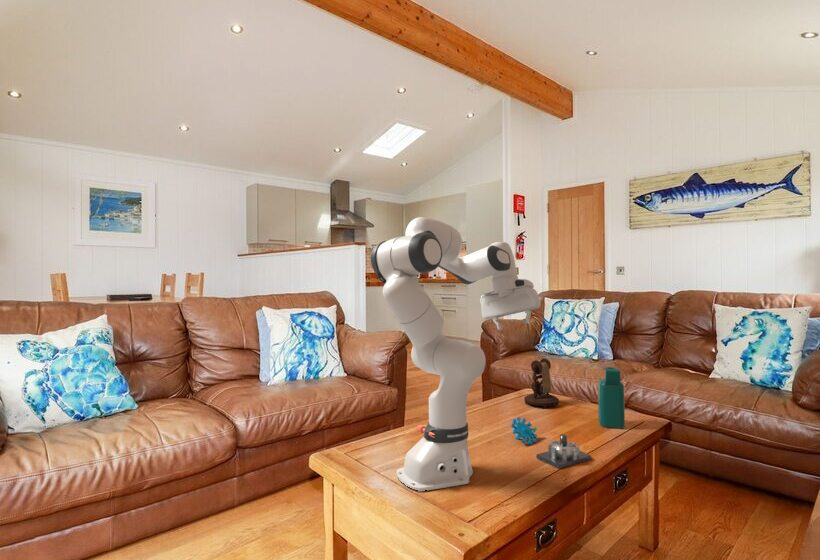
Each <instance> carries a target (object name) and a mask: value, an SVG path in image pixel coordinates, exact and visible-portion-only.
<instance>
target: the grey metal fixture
mask: <svg viewBox="0 0 820 560" xmlns="http://www.w3.org/2000/svg"><path fill="white" fill-rule="evenodd" d="M567 436H568V435H567V434H560V436H559V440H554V439H553V440H551V441H550V442H551V443H550V442H548V445H547V447H548V451H543V452H541V453H540V452H539V453H537V454H536V459H537V460H539V461H542V462H544V463H546V464H548V465H549V466H551V467H553V468H556V469H558V470H560V469H563V468H567V467H570V466H573V465H577V464H579V463H580V464H581V463H583V462H586V461H590V460H592V455H591V454H589V453H586V452H584V451H581V450H580V446H579V445H576V442H573V441H570V442H569V441H568V437H567Z"/></svg>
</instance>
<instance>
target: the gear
mask: <svg viewBox="0 0 820 560" xmlns="http://www.w3.org/2000/svg"><path fill="white" fill-rule="evenodd" d="M511 422H512V423H511V424H510V427H511V428H513V429H512V434H514V435H515V434H516V435H515V436H514V438H515V439H516V440H517V441H519V440H520V439H521V438H522V440H521V443H522V444H523V445H525V444H526V443H527V444H528V446H531V445H533V444H535V443H536V442H537V440H536V439H537V437H538V434H537V433H535V432H536V431H537V430H538V428H537V427H536V426H534V427H532V423H531V422H530V421H529V422H528V423H526V422H527V419H526V418H521V417H519V416H517V417H516V418H514V419H511Z"/></svg>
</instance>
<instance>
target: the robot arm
mask: <svg viewBox="0 0 820 560" xmlns="http://www.w3.org/2000/svg"><path fill="white" fill-rule="evenodd" d="M404 234H405V235H404V236H398V237H393V238H391V239H389V240H384V241H381V242H379V243H377V244H376V245H375V246H374V247H373V248H372V250H371V253H370V264H371V267H372V269H373V272H374V273H375V275H376V276H377V279H378V280H379V281H380V282H381V283H383V287H382V296H383V298H384V302H385V303H386V306H387V307H388V309H389V311H390V312H391V313H390V314H392V316H393V318H394V319H395V321H396V322H397V323H398V325H399V326H400V328H401V329H402V330H403V332H404V333H405V335H406V336H407V337H408V339H409V341H410V342H411V344H412V348H411V350H410V351H411V352H410V357H411V361H412V363H413V365H414V366H415V367H416V368H419V369H420V370H422V371H424V372H425V373H428V374H432V375H438V376H439V377H440V380H439V385H438V388H437V389H436V390H433V391H432V392H431V393H430V395H429V396H428V422H427V424H426V426H424V425H422V424H419V425H417V428H416V430H417V432H420V433H421V434H423V437H421V439H419V440H418V441H417V443H416V444H414V445H413V447H411V448H410V449H409V450H408V451H407V452H406V454H405V457H404V462H403V463H404V464H403V466H402V467H400V468H397V469H396V474H397V476H396V478H397V477H398V478H399V480H400V481H401V482H402V483H404V484H405V485H406V486H405V485H404V484H403V485H404V486H405V487H407V486H408V487H410V488H412V489H415V490H418V491H417V492H426V491H425V490H427V491H432V490H438V489H444V488H450V487H457V486H461V485H463V486H464V485H467V484H469V483H470V480H471V479H470V478H471V477H472V476H473V473H474V470H473V467H472V463H471V459H470V454H469V445H468V438H469V424H468V421H467V419H468V418H467V414H468V413H467V412H468V411H467V408H468V402H467V401H468V395H469V392H470V389H471V386H472V384H474V382H475V381H476V380H477V379H479V378H480V377H481V375H482V374H483V373H484V371H485V368H486V364H487V363H486V361H487V360H486V355H485V352H484V350H483V349H482V347H480V346H478V345H476V344H474V343H472V342H469V341H466V340H459V339H453V338H452V339H451V338H449V337H447V336H445V335H444V334H443V333H442V330H443V329H444V318H443V316H442V315H441V313H440V312H439V310H438V308H437V307H436V306H435V304H434V302H433V301H432V300H431V298H430V296H429V295H428V294H427V293H426V291H425V290H424V288H423V287H422V286H421V284H420V282H419V277H418V275H421V274H429V273H431V272H433V271H435V270H436V269H437V268H440V269H441V270H443V271H444V272H447V273H448V274H450V275H452V276H454V277H455V278H456V279H457V280H458V281H459V282H461V283H462V284H465V285H471V284H474V283H475V282H478V281H479V280H482V279H486V278H489V277H491V276H492V278H491V279H492V280H491V281H492V288H493V291H490V292H485V293H483V294H482V295H481V296H480V297H479V300H480V301H479V302H480V306H481V308H480V309H481V317H482V318H483V319H484V320H487V321H488V320H489V321H490V320H492V322H493V323H494V324H495V325H496V328H497V330H498V331H502V330H504V326H503V324H502V323H500V322H499V321H500V319H499V318H501V317H505V316H506V317H507V316H511V315H514V314H515V315H516V314H519V313H523V312H524V313H525V314H526V315H525V318H523V319H522V321H523V325H525V326H527V325H530V324H531V322H530V317H531V315H532V310H537V309H540V307H541V306H542V305H541V299H540V296H539V293H538V292H537V290H536V289H535V288H534V286H535V285H534V282H532V281H531V280H528V279H525V278H519V277H518V274H517V272H516V268H517V266H516V261H515V256H514V253H513V250H512V248H511V245H510V244H509V243H507V242H506V241H505V242H504V241H495V242H492V243H491V244H490V245H489V246H486V247H483V248H481V249H478V250H476V251H473V252H471V253H468V254H467V255H463V256H460V253H461V251H462V248H463V247H462V246H463V239H462V236H461V234H460V232H459V231H458V230H457V228H454V227H453V226H452V225H450V224H447V223H446V222H443V221H440V220H437V219H435V218H430V217H424V216H418V217H416V218H414V219H411V221H410V222H409V223H408V224H407V226H406V229H405V233H404ZM459 256H460V257H459ZM398 478H397V479H398ZM399 480H398V481H399ZM401 482H400V483H401ZM402 483H401V484H402ZM408 487H407V488H408ZM410 488H409V489H410ZM412 489H411V490H412ZM415 490H414V491H415Z"/></svg>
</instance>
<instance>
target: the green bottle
mask: <svg viewBox="0 0 820 560" xmlns="http://www.w3.org/2000/svg"><path fill="white" fill-rule="evenodd" d="M602 369H603V371H604V373H605V377H602V378H600V379H598V381H597V415H598V417H597V419H598V423H599V426H600V427H602V426H603V427H602V428H604V427H611V428H610V429H615V428H623V429H624V428H625V427H626V426H625V425H626V423H625V420H626V418H625V416H626V415H625V409H626V408H625V407H626V406H625V405H626V404H625V385H624V383H623V382H622V381H621V370H620V369H619V368H617V367H615V366H614V367H613V366H605V367H603V368H602Z"/></svg>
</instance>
